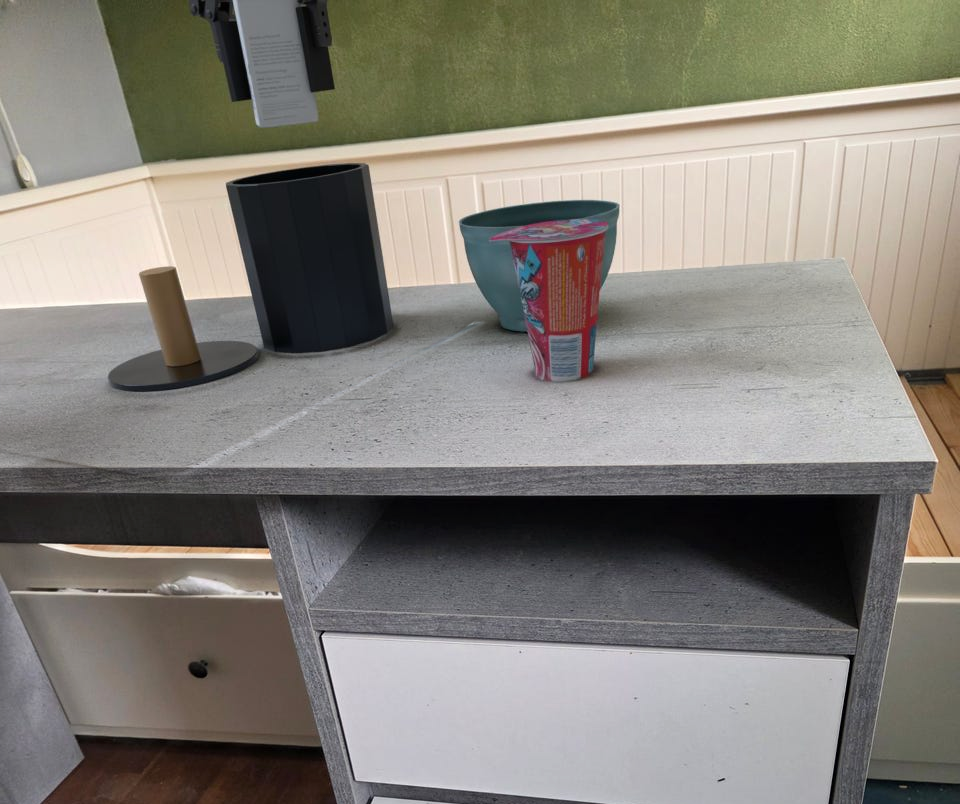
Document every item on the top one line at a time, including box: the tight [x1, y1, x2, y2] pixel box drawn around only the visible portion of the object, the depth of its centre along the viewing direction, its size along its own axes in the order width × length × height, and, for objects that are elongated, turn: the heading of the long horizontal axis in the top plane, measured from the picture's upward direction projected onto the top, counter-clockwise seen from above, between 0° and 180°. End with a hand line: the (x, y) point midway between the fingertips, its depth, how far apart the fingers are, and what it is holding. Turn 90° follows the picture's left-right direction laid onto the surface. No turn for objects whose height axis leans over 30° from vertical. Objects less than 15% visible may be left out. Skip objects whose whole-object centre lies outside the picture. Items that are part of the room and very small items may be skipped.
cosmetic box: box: [233, 0, 320, 129], centre depth 83 cm, size 8×6×15 cm
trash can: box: [225, 162, 394, 355], centre depth 93 cm, size 14×14×16 cm
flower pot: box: [458, 199, 621, 333], centre depth 91 cm, size 16×16×11 cm
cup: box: [489, 219, 608, 383], centre depth 75 cm, size 9×8×12 cm
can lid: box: [107, 265, 260, 392], centre depth 90 cm, size 15×15×10 cm
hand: (282, 95), depth 85 cm, fingers closed on cosmetic box, 10 cm apart
